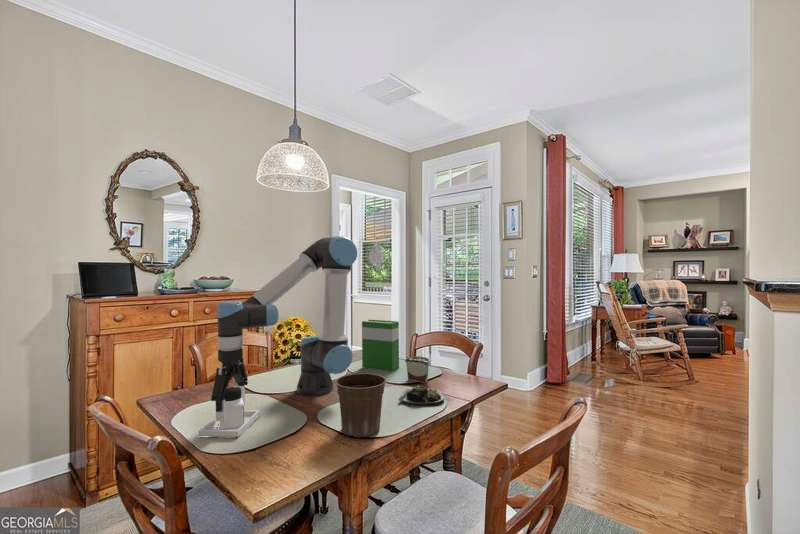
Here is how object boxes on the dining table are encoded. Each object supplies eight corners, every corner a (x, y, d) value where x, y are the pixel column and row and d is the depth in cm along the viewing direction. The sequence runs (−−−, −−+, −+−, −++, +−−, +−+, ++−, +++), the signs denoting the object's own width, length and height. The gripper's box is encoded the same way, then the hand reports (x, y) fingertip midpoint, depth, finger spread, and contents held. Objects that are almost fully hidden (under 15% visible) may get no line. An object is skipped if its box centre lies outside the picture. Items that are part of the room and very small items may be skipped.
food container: (435, 379, 173) (434, 358, 173) (428, 383, 168) (428, 361, 168) (412, 375, 180) (411, 355, 180) (405, 379, 175) (405, 357, 175)
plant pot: (371, 415, 133) (371, 370, 133) (396, 432, 119) (395, 381, 119) (328, 426, 124) (327, 377, 124) (348, 446, 110) (348, 391, 110)
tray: (260, 416, 133) (260, 410, 133) (238, 438, 116) (238, 431, 116) (225, 416, 133) (225, 410, 133) (198, 438, 116) (198, 430, 116)
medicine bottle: (244, 426, 123) (243, 389, 123) (220, 430, 120) (219, 393, 120) (242, 418, 130) (242, 383, 130) (219, 422, 127) (219, 386, 127)
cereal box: (362, 367, 195) (361, 321, 195) (369, 364, 202) (369, 319, 202) (392, 371, 187) (392, 323, 187) (399, 367, 194) (398, 321, 194)
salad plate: (397, 390, 160) (397, 379, 160) (439, 389, 161) (439, 378, 161) (398, 407, 141) (398, 395, 141) (446, 406, 141) (446, 394, 141)
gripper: (236, 340, 137) (237, 398, 137) (197, 357, 112) (198, 428, 112) (257, 340, 137) (257, 398, 137) (222, 357, 112) (223, 428, 112)
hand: (231, 412), depth 125 cm, fingers open, 13 cm apart
